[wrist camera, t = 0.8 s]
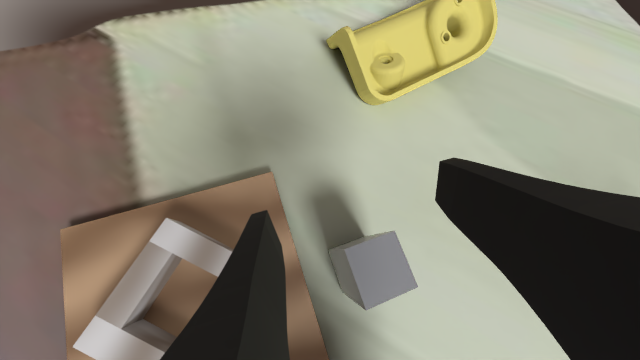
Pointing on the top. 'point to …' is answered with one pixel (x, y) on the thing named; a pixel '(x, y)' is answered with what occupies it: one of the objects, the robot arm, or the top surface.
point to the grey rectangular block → (372, 269)
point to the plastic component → (415, 46)
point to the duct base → (189, 282)
